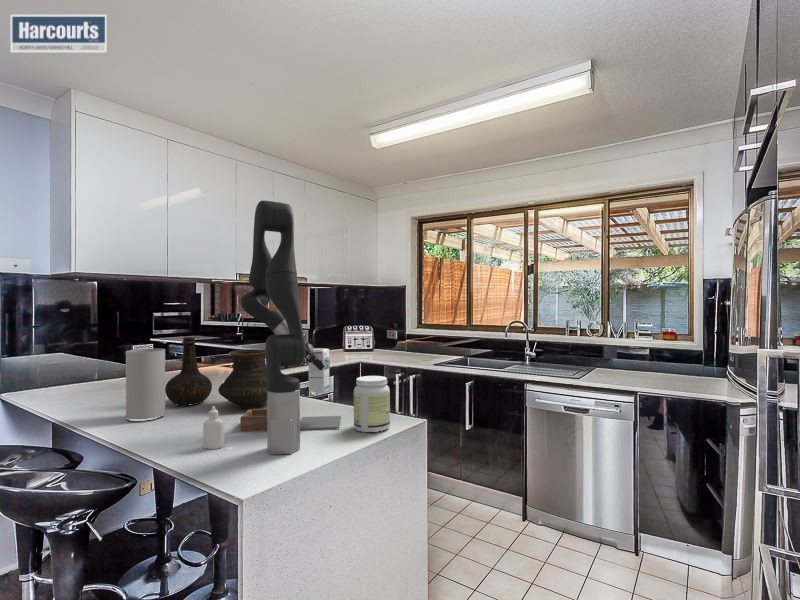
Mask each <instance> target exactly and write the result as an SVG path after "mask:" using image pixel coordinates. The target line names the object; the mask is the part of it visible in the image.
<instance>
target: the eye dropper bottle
mask: <svg viewBox="0 0 800 600" xmlns="http://www.w3.org/2000/svg"><path fill="white" fill-rule="evenodd" d="M202 424H203V425H202V432H203V433H202V447H203V449H207V448H208V449H209V450H218V449H222V447H224V445H225V423H224V420H222V419H221V418H219V411H218V409H216V407H215V405H214V406H211V410H209V411H208V419H206V420H204V421H203V423H202ZM208 449H207V450H208Z"/></svg>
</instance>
